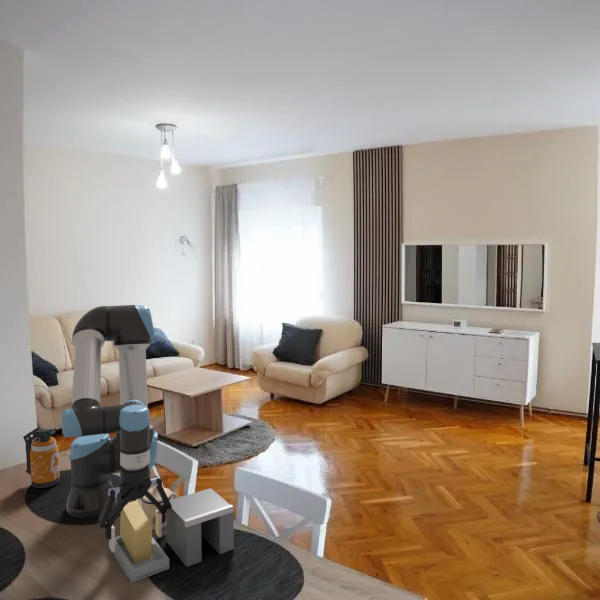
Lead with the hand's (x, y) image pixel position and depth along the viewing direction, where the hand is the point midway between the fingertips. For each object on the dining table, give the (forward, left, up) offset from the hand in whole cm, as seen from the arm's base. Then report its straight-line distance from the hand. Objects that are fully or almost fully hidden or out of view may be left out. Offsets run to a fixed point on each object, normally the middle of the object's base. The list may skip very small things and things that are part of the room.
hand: (136, 542), depth 141 cm
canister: (-62, -12, -5) cm, 63 cm away
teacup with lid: (-15, +13, -5) cm, 20 cm away
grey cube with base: (+4, +17, -5) cm, 18 cm away
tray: (0, +1, -5) cm, 5 cm away
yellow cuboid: (-3, +1, -3) cm, 4 cm away
